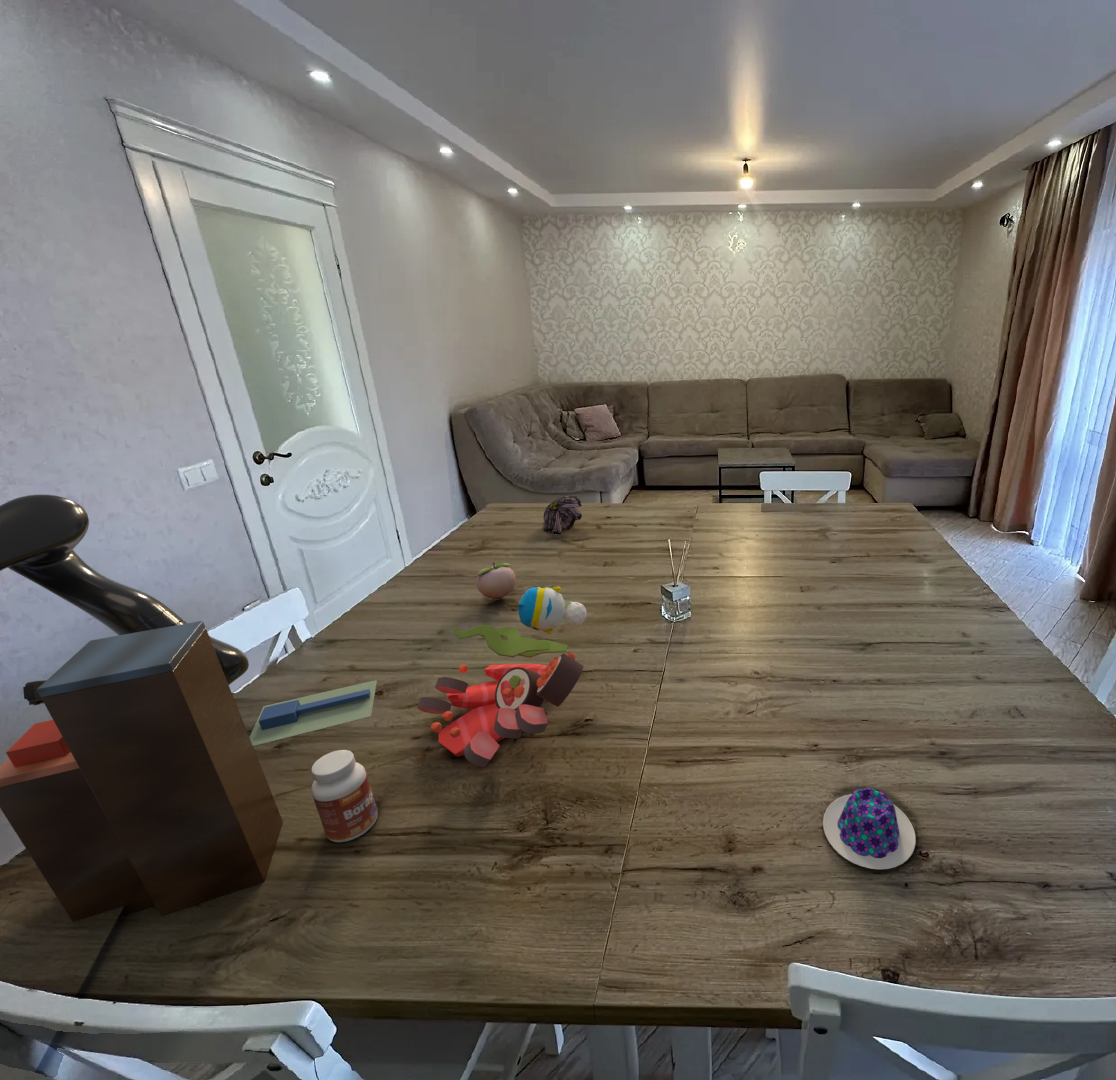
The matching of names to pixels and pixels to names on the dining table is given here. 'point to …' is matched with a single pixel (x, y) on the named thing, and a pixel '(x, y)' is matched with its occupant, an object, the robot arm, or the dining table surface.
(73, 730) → the wooden stand
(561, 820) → the dining table surface
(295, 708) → the blue spatula
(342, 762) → the pill bottle
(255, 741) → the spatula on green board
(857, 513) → the dining table surface
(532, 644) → the sushi set
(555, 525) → the decorative flower
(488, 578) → the decorative fruit
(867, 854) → the pudding
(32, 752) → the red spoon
